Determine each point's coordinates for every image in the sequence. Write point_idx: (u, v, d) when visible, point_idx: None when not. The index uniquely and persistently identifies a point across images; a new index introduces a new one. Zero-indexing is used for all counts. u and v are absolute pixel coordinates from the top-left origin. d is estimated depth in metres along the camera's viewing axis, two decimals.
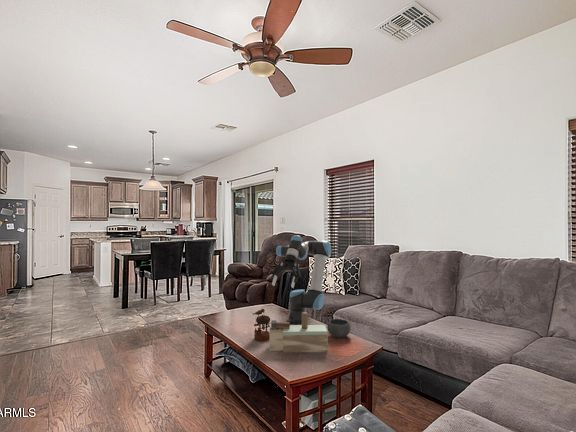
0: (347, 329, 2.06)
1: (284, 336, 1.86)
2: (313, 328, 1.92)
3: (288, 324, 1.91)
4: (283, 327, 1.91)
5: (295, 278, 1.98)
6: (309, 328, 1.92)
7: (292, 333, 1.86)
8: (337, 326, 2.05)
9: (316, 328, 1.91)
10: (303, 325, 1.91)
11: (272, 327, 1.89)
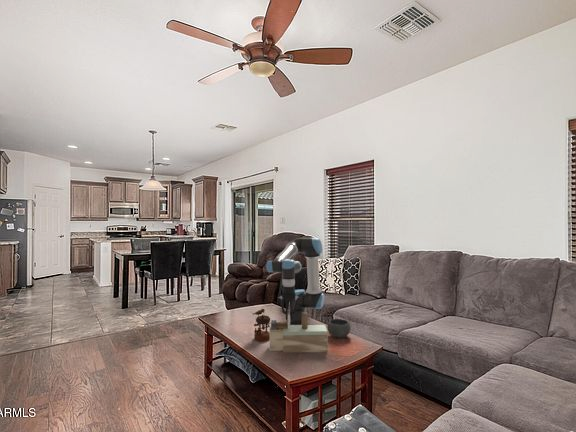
0: (347, 329, 2.06)
1: (284, 336, 1.86)
2: (313, 328, 1.92)
3: (286, 324, 1.91)
4: (281, 327, 1.91)
5: (291, 316, 1.92)
6: (309, 328, 1.92)
7: (292, 333, 1.86)
8: (337, 326, 2.05)
9: (316, 328, 1.91)
10: (303, 325, 1.91)
11: (272, 327, 1.89)
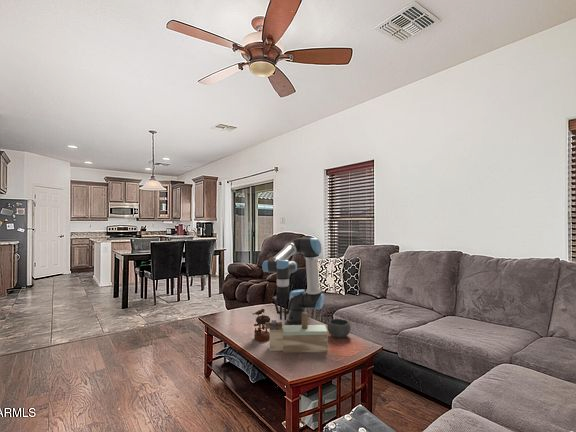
0: (347, 329, 2.06)
1: (284, 336, 1.86)
2: (313, 328, 1.92)
3: (280, 324, 1.91)
4: None
5: (285, 316, 1.92)
6: (309, 328, 1.92)
7: (292, 333, 1.86)
8: (337, 326, 2.05)
9: (316, 328, 1.91)
10: (303, 325, 1.91)
11: (272, 327, 1.89)
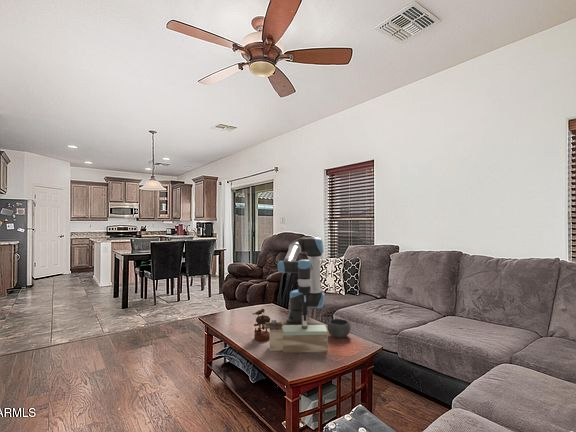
0: (347, 329, 2.06)
1: (284, 336, 1.86)
2: (313, 328, 1.92)
3: (280, 324, 1.91)
4: None
5: (303, 316, 1.89)
6: (309, 328, 1.92)
7: (292, 333, 1.86)
8: (337, 326, 2.05)
9: (316, 328, 1.91)
10: None
11: (272, 327, 1.89)
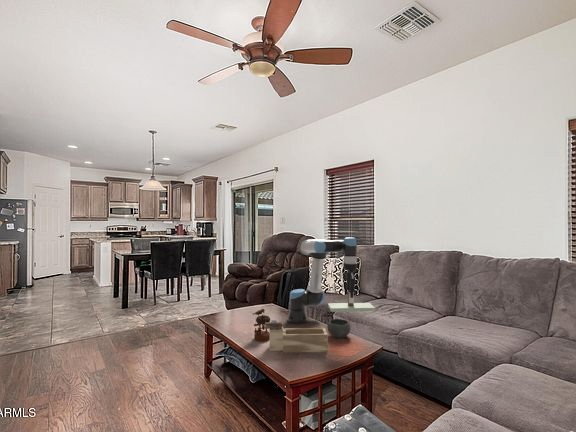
0: (347, 329, 2.06)
1: (284, 336, 1.86)
2: (359, 305, 1.93)
3: (280, 324, 1.91)
4: None
5: (350, 293, 1.90)
6: (355, 305, 1.92)
7: (340, 310, 1.87)
8: (337, 326, 2.05)
9: (362, 306, 1.91)
10: None
11: (272, 327, 1.89)
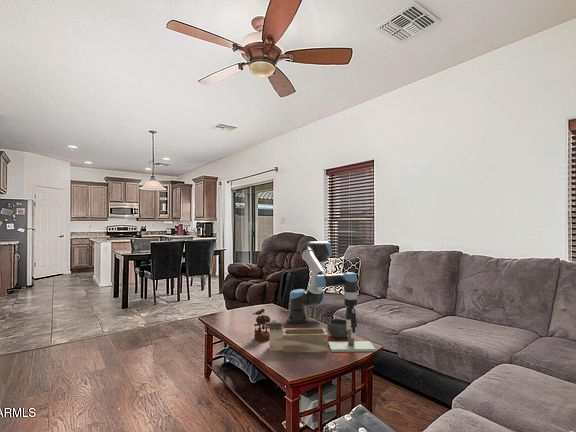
0: None
1: (284, 336, 1.86)
2: (359, 345, 1.92)
3: (280, 324, 1.91)
4: None
5: (352, 328, 1.85)
6: (356, 345, 1.92)
7: (340, 351, 1.86)
8: (337, 326, 2.05)
9: (363, 346, 1.91)
10: (350, 342, 1.91)
11: (272, 327, 1.89)
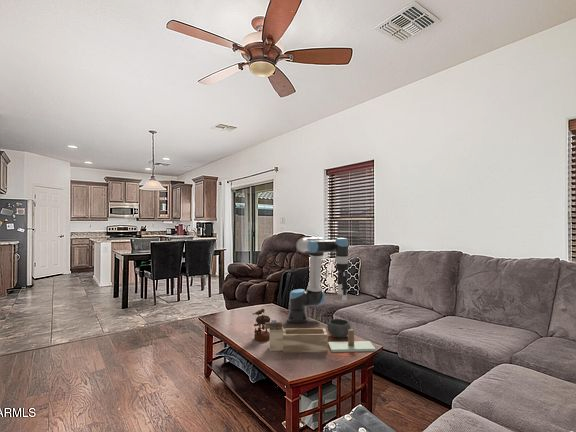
0: (347, 329, 2.06)
1: (284, 336, 1.86)
2: (359, 345, 1.92)
3: (280, 324, 1.91)
4: None
5: (343, 291, 1.90)
6: (356, 345, 1.92)
7: (340, 351, 1.86)
8: (337, 326, 2.05)
9: (363, 346, 1.91)
10: (350, 342, 1.91)
11: (272, 327, 1.89)
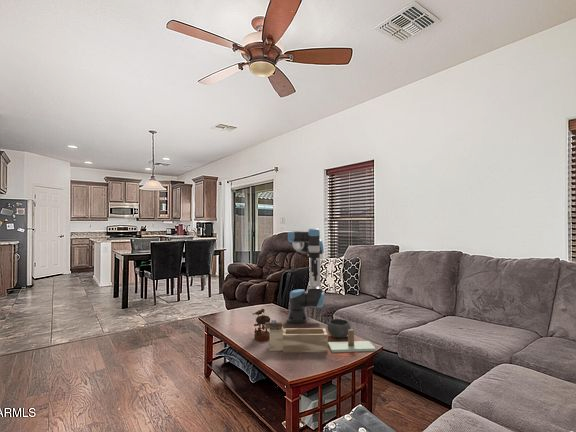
0: (347, 329, 2.06)
1: (284, 336, 1.86)
2: (359, 345, 1.93)
3: (280, 324, 1.91)
4: None
5: (314, 277, 2.05)
6: (356, 345, 1.92)
7: (341, 351, 1.86)
8: (337, 326, 2.05)
9: (363, 345, 1.91)
10: (350, 342, 1.91)
11: (272, 327, 1.89)
